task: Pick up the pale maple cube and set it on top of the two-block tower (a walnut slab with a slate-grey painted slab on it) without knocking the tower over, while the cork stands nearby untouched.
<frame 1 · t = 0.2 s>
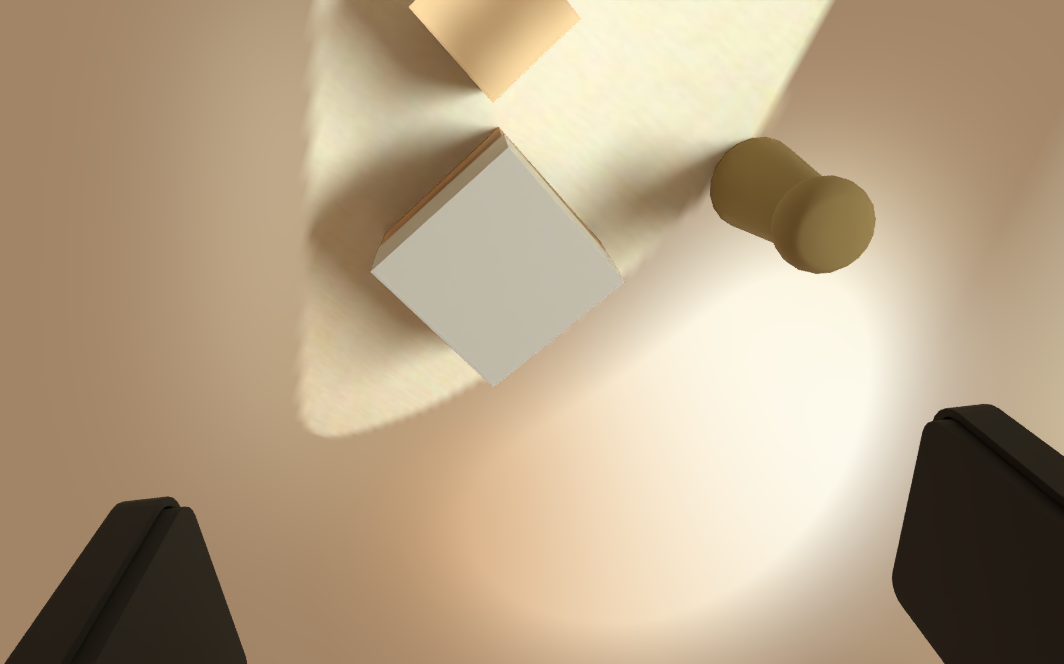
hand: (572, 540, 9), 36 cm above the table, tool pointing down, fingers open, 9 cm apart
tower base: (493, 236, 45), on the table, touching tower top
block: (490, 11, 39), on the table
tower top: (496, 253, 41), point 4 cm above the table, touching tower base
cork: (753, 183, 45), on the table
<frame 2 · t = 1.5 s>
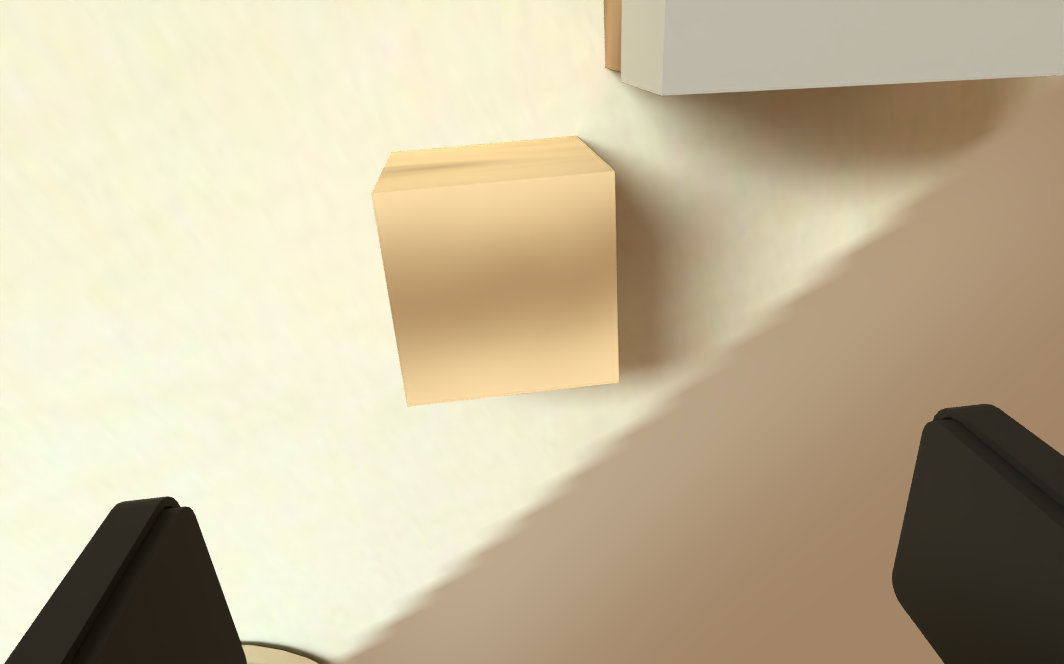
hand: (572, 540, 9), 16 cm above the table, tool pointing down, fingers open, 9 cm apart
block: (493, 232, 23), on the table
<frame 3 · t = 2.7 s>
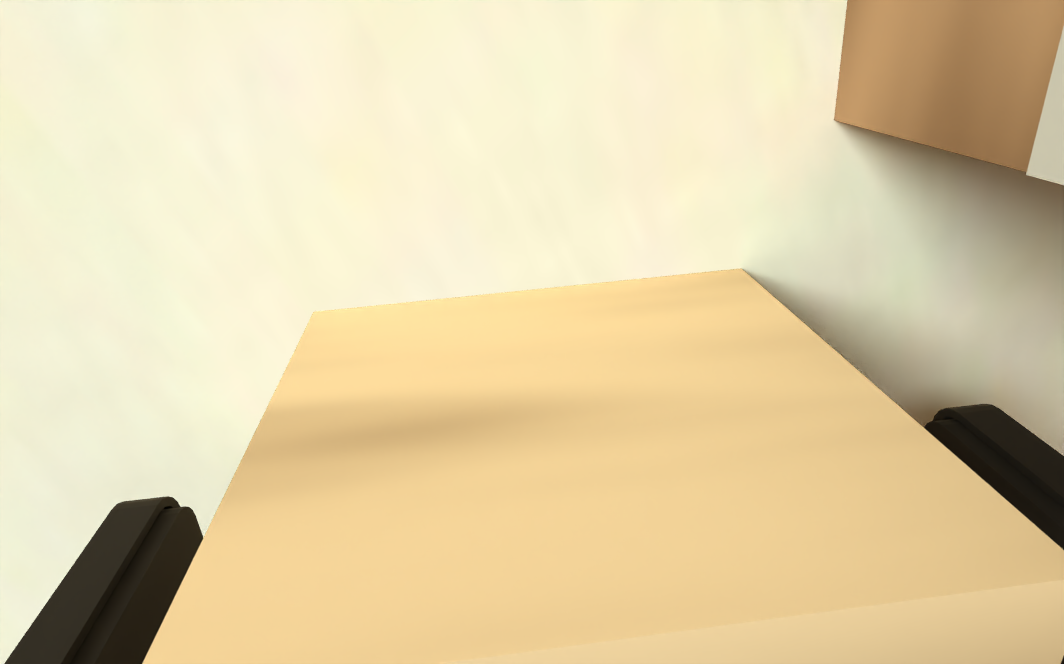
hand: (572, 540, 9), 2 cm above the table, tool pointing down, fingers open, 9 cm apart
block: (544, 463, 11), on the table
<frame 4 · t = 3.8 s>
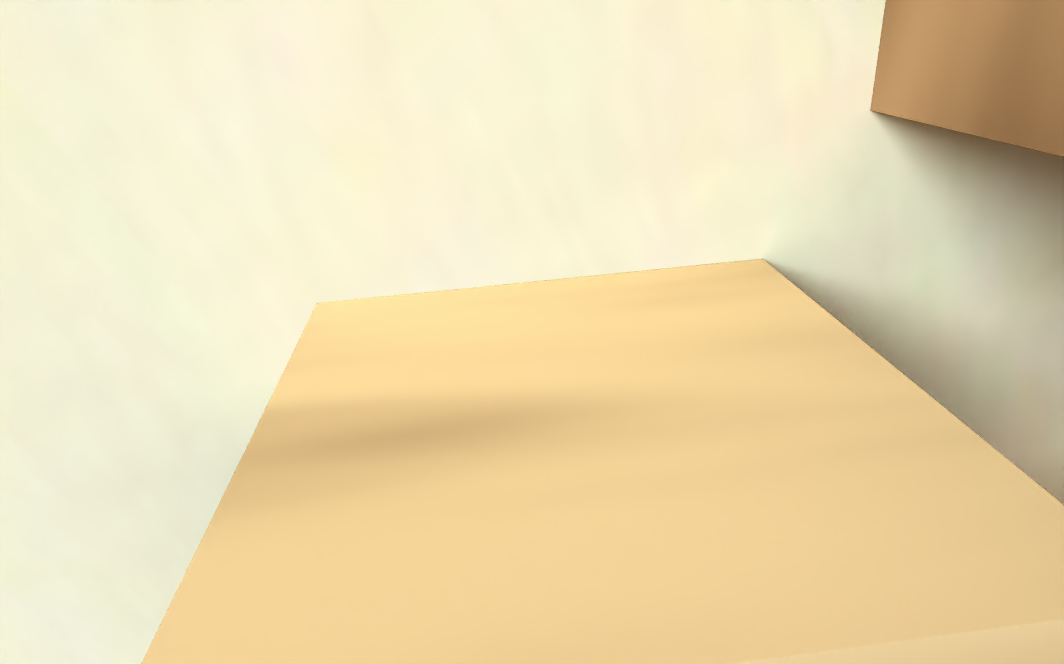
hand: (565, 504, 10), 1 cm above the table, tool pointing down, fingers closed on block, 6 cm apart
block: (555, 464, 10), on the table, touching gripper
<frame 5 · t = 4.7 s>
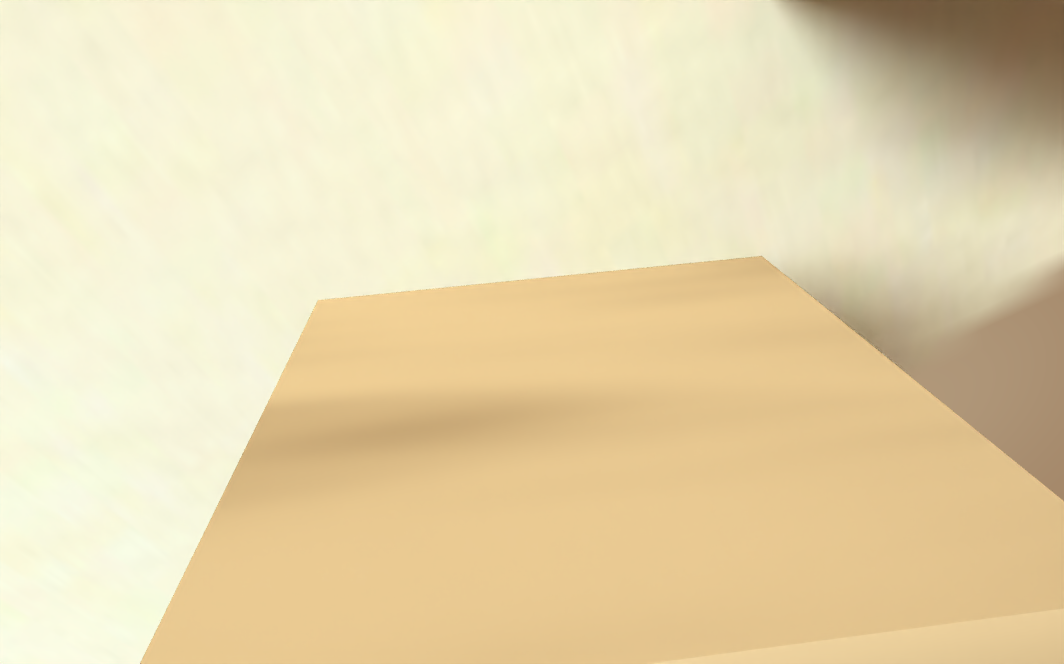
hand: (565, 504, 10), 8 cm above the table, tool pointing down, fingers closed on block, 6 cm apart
block: (556, 460, 10), point 7 cm above the table, touching gripper
when the fingers open (10 cm above the table, at t = 10.0 s): block drops 1 cm, resting on tower top.
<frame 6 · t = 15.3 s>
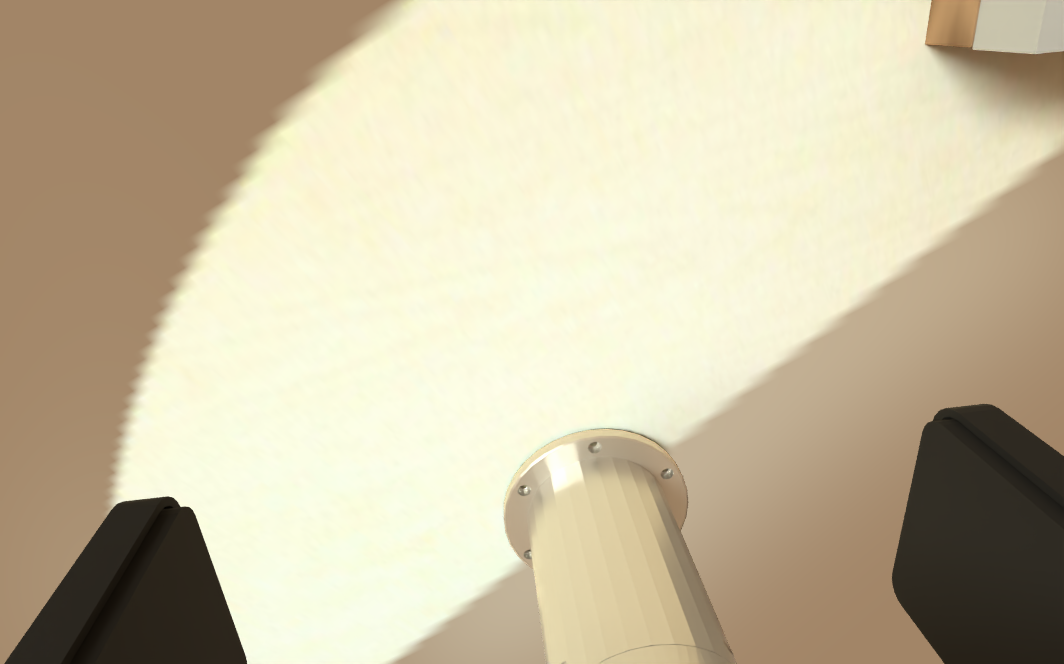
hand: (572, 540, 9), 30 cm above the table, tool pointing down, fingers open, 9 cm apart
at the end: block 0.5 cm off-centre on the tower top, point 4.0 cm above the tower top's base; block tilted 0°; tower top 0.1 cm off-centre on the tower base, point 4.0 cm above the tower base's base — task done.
